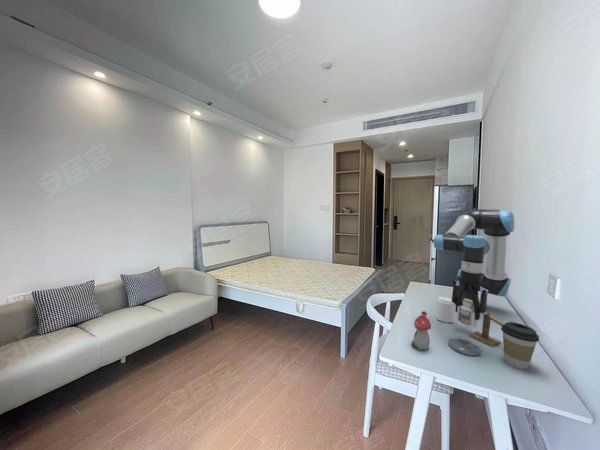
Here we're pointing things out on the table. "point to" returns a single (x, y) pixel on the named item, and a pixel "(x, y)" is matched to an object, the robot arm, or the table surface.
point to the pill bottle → (466, 313)
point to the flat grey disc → (464, 347)
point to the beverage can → (444, 309)
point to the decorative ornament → (421, 332)
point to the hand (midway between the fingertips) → (466, 322)
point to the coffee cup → (518, 344)
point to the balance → (486, 330)
